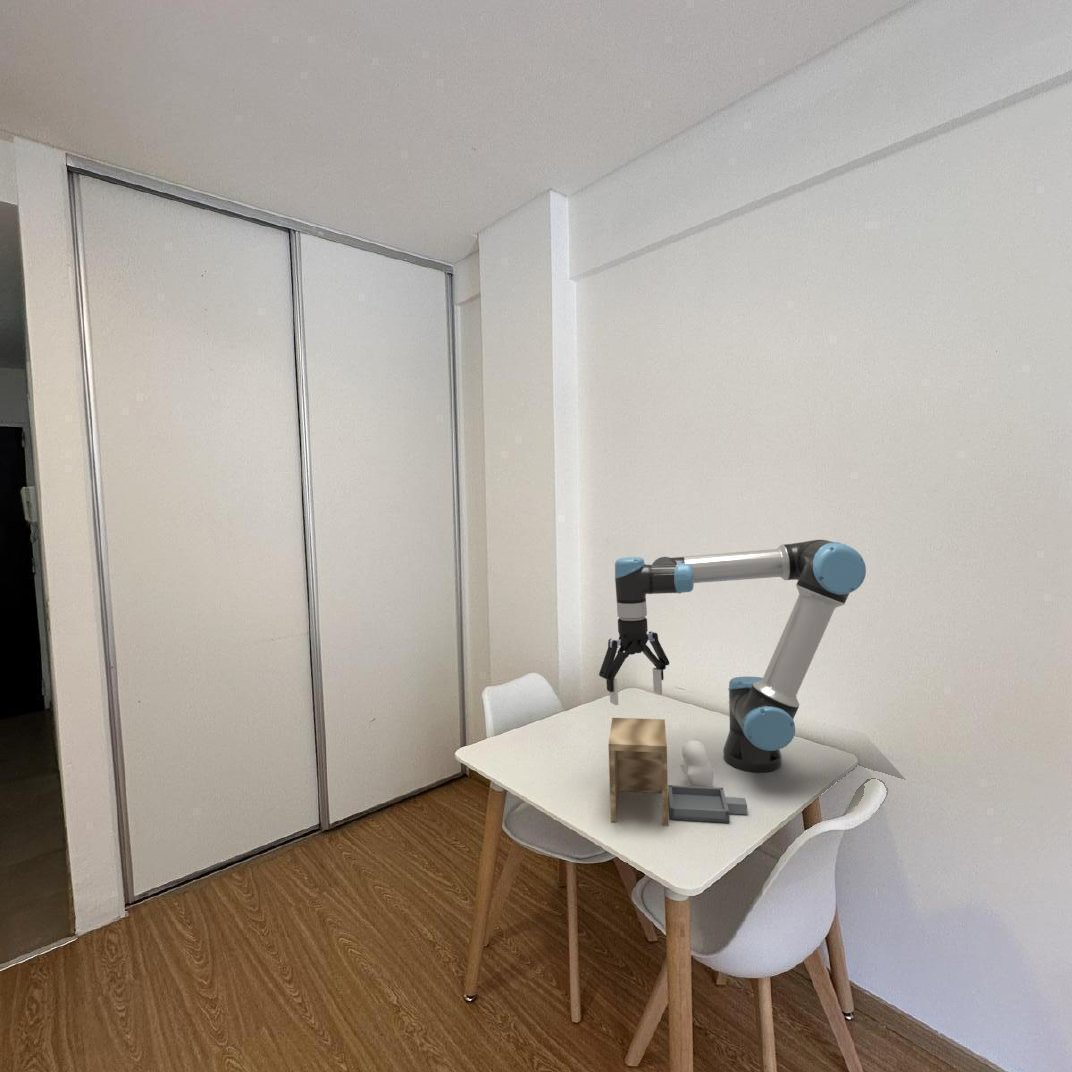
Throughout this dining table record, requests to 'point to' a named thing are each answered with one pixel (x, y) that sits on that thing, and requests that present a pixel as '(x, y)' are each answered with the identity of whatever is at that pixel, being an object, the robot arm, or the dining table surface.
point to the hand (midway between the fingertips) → (636, 698)
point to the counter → (638, 760)
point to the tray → (703, 804)
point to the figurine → (696, 765)
